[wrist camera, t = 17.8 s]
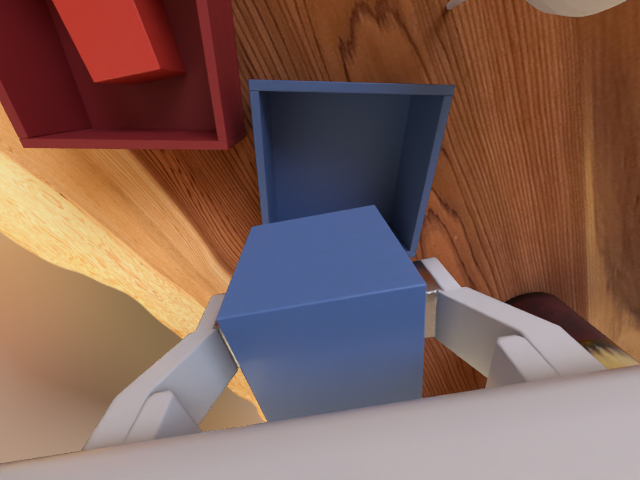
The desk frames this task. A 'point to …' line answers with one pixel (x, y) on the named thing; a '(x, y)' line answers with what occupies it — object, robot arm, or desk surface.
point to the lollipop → (563, 6)
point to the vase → (574, 327)
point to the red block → (122, 39)
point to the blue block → (326, 315)
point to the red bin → (120, 99)
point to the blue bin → (348, 149)
